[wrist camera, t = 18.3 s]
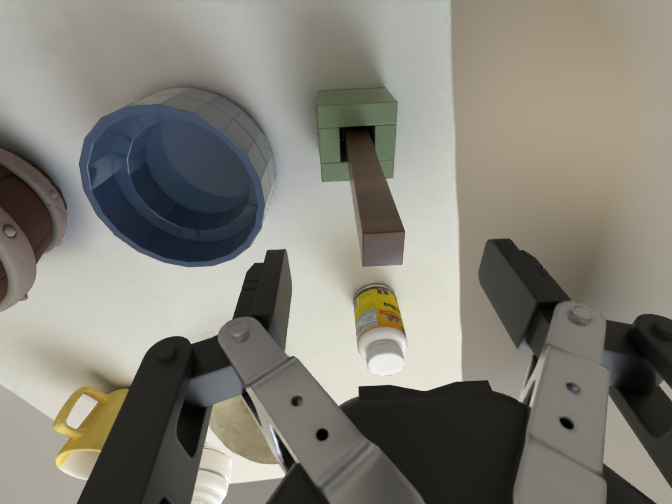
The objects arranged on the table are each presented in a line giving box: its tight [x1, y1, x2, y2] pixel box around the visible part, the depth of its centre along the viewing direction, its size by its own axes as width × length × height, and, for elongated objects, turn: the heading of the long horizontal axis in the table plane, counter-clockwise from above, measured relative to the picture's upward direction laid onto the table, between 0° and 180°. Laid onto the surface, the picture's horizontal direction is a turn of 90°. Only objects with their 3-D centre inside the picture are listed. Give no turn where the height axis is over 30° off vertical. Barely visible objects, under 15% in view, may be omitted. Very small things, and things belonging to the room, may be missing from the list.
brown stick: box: [343, 126, 405, 267], centre depth 23 cm, size 2×2×20 cm
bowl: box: [209, 395, 279, 464], centre depth 49 cm, size 15×14×10 cm
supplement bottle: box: [354, 285, 407, 376], centre depth 39 cm, size 6×6×10 cm
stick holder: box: [316, 87, 397, 182], centre depth 28 cm, size 6×6×6 cm
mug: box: [53, 386, 129, 480], centre depth 50 cm, size 14×10×10 cm
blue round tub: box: [79, 87, 275, 267], centre depth 29 cm, size 14×14×8 cm
